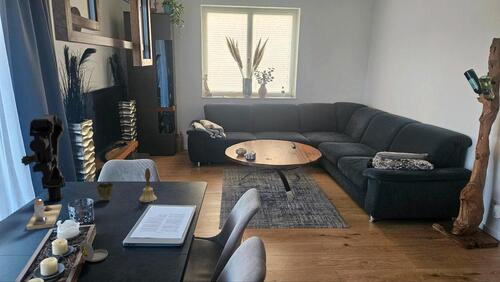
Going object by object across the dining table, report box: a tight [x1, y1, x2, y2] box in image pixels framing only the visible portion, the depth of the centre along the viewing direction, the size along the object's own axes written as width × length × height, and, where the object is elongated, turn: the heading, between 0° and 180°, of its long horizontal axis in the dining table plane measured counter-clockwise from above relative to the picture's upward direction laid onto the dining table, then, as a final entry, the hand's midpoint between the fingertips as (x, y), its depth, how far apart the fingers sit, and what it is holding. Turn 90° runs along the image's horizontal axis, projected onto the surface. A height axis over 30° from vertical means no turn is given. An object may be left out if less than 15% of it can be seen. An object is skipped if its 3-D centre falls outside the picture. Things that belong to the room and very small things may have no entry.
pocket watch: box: [79, 234, 109, 263], centre depth 111 cm, size 8×8×10 cm
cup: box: [96, 181, 114, 202], centre depth 160 cm, size 8×7×8 cm
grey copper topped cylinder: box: [33, 198, 48, 225], centre depth 132 cm, size 4×4×10 cm
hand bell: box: [138, 167, 158, 203], centre depth 162 cm, size 8×8×16 cm
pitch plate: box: [26, 204, 63, 231], centre depth 140 cm, size 20×9×3 cm, turn 20°
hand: (47, 181), depth 147 cm, fingers closed
